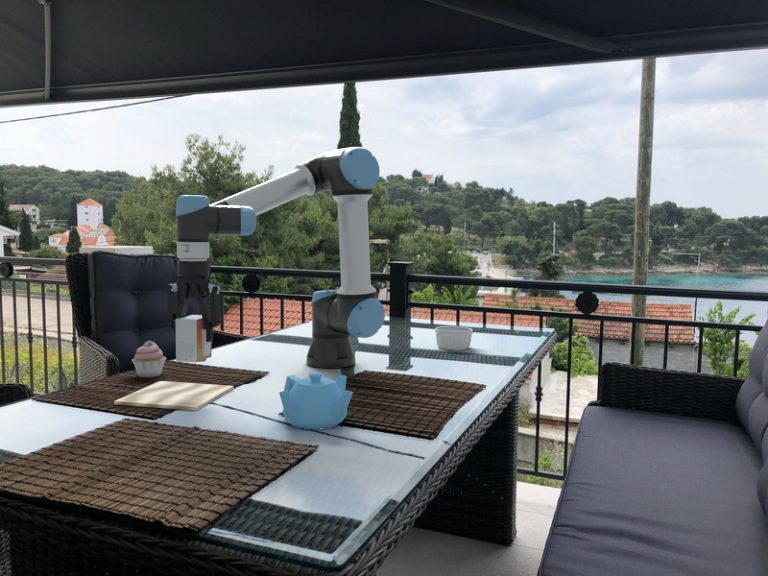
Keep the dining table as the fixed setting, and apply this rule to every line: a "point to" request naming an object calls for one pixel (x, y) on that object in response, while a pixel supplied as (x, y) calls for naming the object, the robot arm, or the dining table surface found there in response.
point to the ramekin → (453, 337)
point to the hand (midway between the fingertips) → (194, 353)
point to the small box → (190, 339)
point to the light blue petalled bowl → (315, 401)
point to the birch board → (175, 395)
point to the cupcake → (149, 360)
